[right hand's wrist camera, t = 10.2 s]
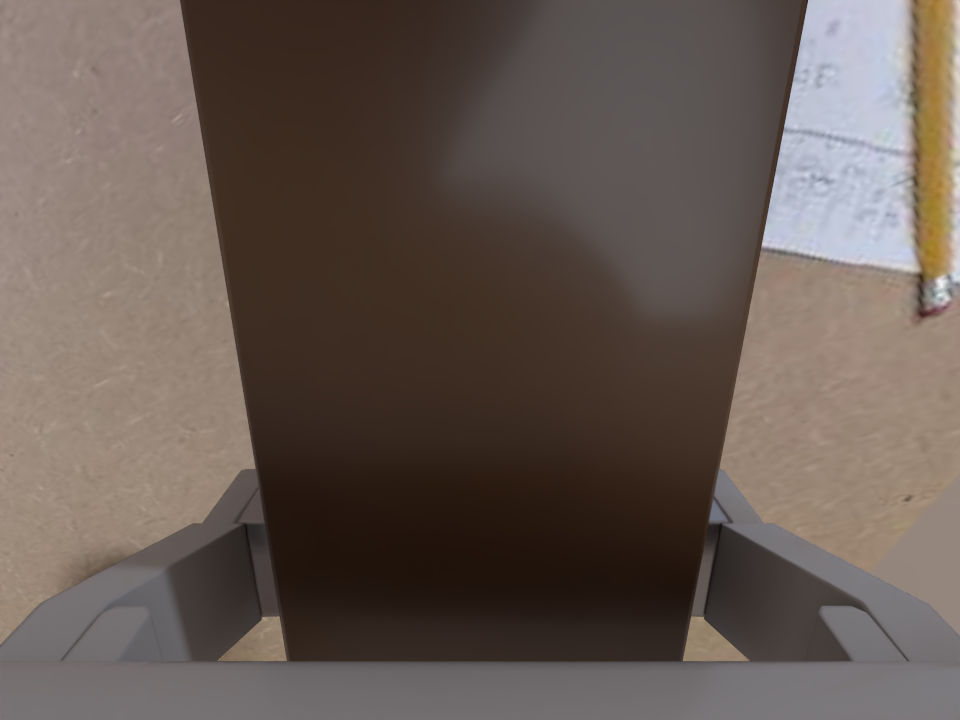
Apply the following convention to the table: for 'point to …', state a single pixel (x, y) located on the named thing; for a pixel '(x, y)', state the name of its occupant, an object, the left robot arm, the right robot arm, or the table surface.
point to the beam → (489, 305)
